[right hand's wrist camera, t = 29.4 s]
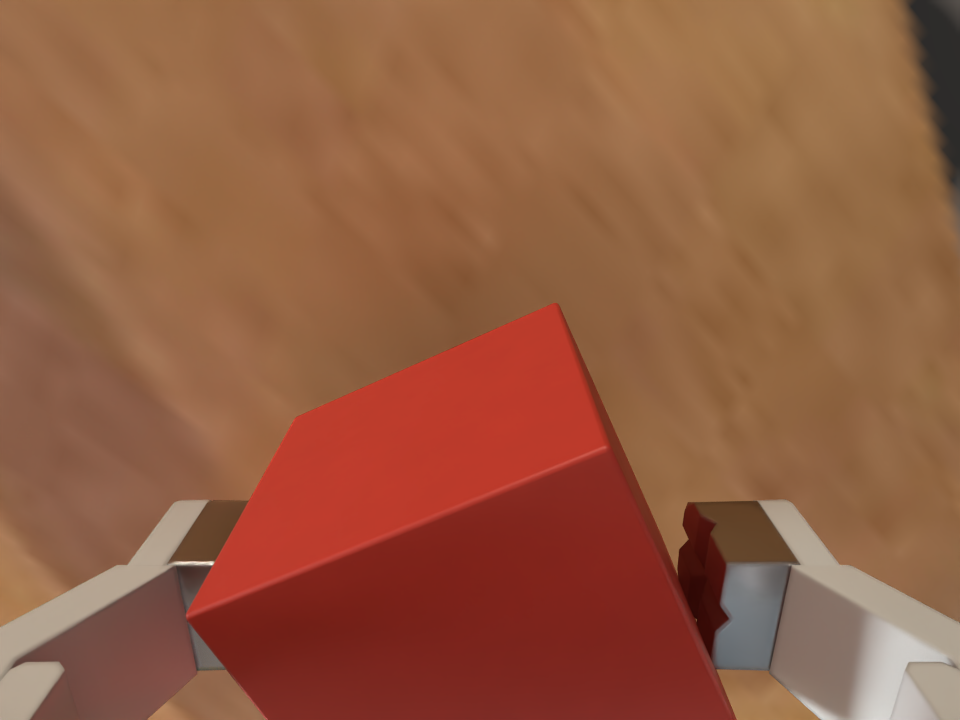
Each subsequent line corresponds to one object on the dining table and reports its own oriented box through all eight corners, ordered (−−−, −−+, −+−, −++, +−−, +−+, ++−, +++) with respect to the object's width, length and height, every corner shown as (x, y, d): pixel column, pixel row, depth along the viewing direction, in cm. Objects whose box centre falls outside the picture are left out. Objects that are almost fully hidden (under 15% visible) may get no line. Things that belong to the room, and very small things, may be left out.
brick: (557, 300, 11) (610, 444, 7) (660, 533, 13) (760, 776, 8) (293, 417, 12) (180, 617, 7) (424, 622, 14) (398, 887, 9)
